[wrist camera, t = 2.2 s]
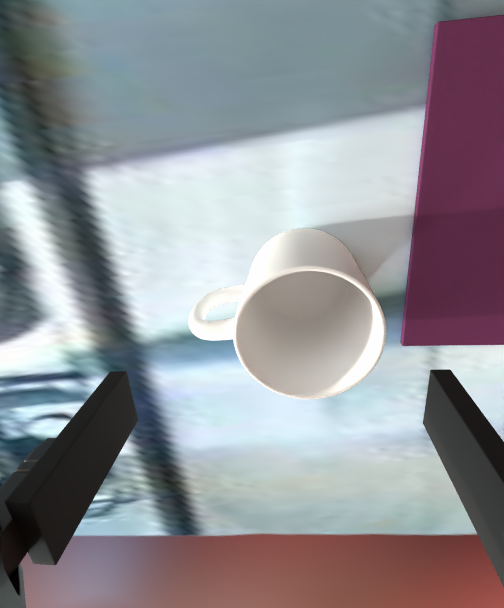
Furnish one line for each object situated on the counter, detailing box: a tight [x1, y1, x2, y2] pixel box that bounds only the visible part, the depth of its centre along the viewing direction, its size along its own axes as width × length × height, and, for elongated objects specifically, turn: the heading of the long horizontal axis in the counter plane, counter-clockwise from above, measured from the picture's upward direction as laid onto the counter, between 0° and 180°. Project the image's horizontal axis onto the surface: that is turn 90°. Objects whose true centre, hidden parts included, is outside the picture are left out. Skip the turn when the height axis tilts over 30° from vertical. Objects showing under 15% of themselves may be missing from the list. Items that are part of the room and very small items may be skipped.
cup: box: [189, 228, 386, 399], centre depth 25 cm, size 8×12×10 cm
